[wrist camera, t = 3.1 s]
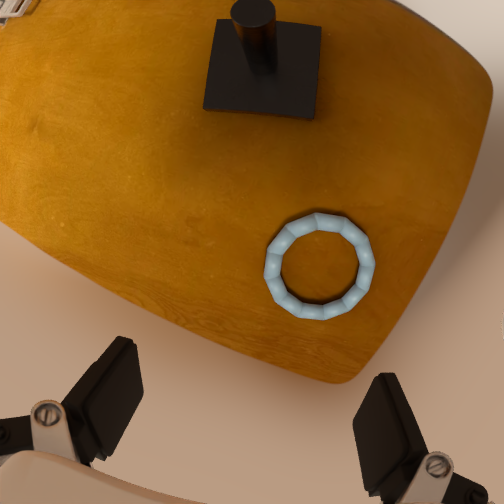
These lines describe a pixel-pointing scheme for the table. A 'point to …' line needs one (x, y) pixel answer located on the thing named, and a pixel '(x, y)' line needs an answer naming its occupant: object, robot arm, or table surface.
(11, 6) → the zipper pull
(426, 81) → the table surface
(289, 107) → the post
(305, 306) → the ring
